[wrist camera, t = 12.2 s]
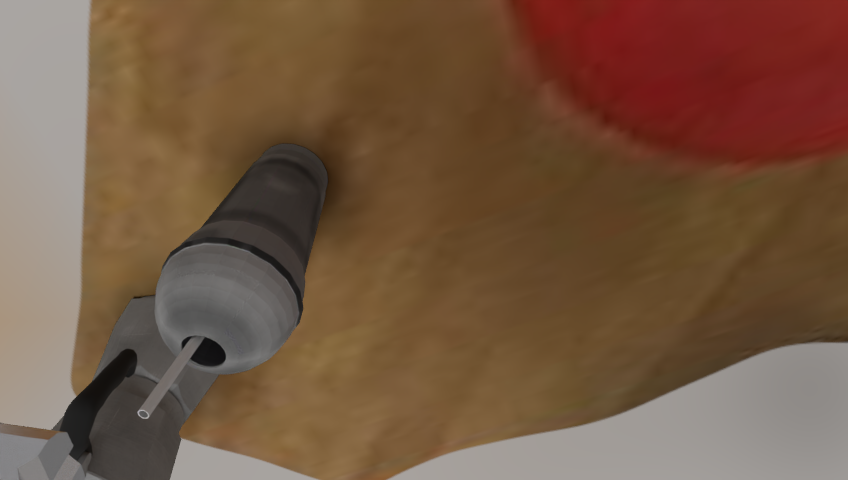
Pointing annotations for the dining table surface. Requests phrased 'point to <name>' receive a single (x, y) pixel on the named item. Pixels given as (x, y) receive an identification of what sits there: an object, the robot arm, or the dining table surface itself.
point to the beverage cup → (242, 270)
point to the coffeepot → (132, 404)
